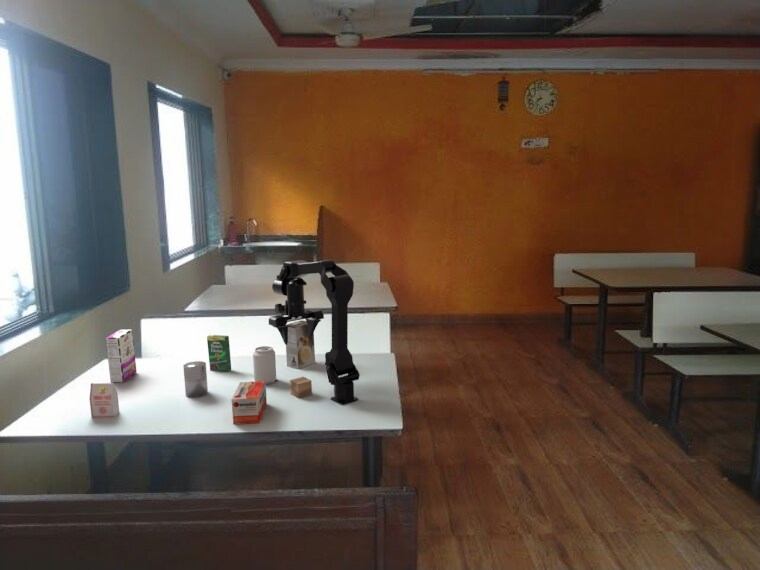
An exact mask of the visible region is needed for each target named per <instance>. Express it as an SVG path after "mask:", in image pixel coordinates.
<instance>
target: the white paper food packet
mask: <svg viewBox="0 0 760 570" xmlns="http://www.w3.org/2000/svg"><path fill="white" fill-rule="evenodd" d="M89 391H90V392H89V405H90V415H91V418H114V417H116V416H117V415H119V413H120V405H119V396H118V395H119V394H118V391H117V389H116V386H115V383H112V382H96V383H94V382H93V383H92V382H91V383H90V390H89Z"/></svg>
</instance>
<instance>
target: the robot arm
mask: <svg viewBox="0 0 760 570" xmlns="http://www.w3.org/2000/svg"><path fill="white" fill-rule="evenodd" d="M328 273H331V275H333V276H330V277H328V275H327V274H328ZM312 274H319V276H320V284H321V285H322V286H323V287H324V289H325V293H326V298H327V299H328V301H329V302H330V304H331V349H330V350H329V351H327V352H325V355H324V358H325V360H324V361H325V363H324V366H325V372H326V376H327V379H328V383H329V384H330V385H331V386H333V392H334V396H331V397H330V400H331V401H334V402H335V403H337V404H340V405H346V404H348V403H351V402H356V401H358V400H359V397H356V396H355V389H354V388H355V386H354V385H355V384H354V382H355V381H359V379H360V376H361V375H360V372H359V370H358V369H357V367H356V365H355V363H354V359H353V355H352V353H351V351H350V350H349V349H348V344H349V343H348V339H349V338H348V337H349V336H348V332H349V331H348V328H349V327H348V326H349V325H348V322H349V321H348V320H349V319H348V317H349V316H348V313H349V312H348V311H349V310H348V309H349V303H350V301H351V299H352V297H353V294H354V287H355V283H354V280H353V278H352V276H350V275H349V273H348V272H347V271H346V270H345V269H343V268H342V267H340V266H339V265H337V264H336V262H335V261H334V260H332V259H323V260H320V261H312V262H311V261H310V262H307V261H306V260H301V259H300V260H299V259H298V260H292V261H291V260H290V261H285V262H284V263H283V266H282V267H281V270H280V272H279V274H278V275H276V279H275V280H274V281H273V283H272V285H271V287H272V291H273V292H274V294H278V295H281V296H286V298H287V299H285V302H284V304H282V303H276V304H275V305H274V312H275V313H276V315H271V316H269V318H268V325H269V326H272V327H273V328H275V329H277V330H278V332H279V333H280V337H281V338H282V341H283V343H284V345H285V346H286V345H287V343H288V326H285V325H287V324H288V323H289V322H297V321H301V320H304V319H305V321H306V322H307V330H308V340H311V338H312V335H313V333H315V330H316V328H317V326H318V324H319V323H320V322H321V320H323V319H325V316H324V315H325V313H324V312H323V310H320V309H317V308H312V309H307V310H306V309H305V305H306V304H307V300H305V292H304V289H305V288H304V286H307V282H306V281H305V280H304V279H303V278H304V277H306V276H308V275H312ZM302 277H303V278H302ZM305 310H306V311H305Z"/></svg>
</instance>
